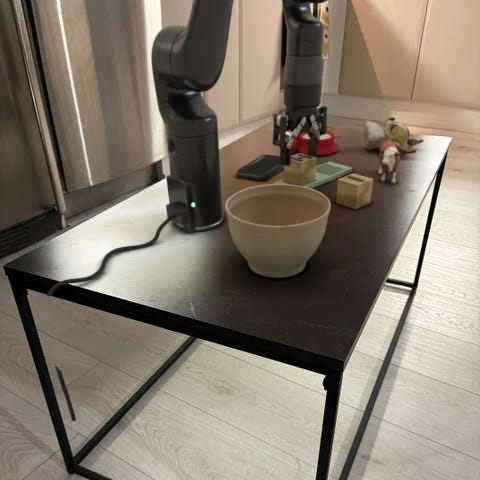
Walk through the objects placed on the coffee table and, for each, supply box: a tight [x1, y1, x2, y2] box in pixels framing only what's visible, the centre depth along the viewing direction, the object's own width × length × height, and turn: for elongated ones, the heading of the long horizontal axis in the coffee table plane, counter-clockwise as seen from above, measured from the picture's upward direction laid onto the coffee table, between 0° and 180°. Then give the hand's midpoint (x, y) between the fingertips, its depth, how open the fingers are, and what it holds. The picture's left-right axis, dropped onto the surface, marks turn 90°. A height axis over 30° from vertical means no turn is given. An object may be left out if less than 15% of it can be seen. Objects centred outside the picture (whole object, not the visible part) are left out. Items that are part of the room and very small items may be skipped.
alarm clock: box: [286, 130, 343, 156], centre depth 133 cm, size 10×6×15 cm
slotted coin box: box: [335, 172, 374, 210], centre depth 103 cm, size 5×5×5 cm
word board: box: [271, 161, 354, 189], centre depth 116 cm, size 20×7×1 cm, turn 133°
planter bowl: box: [224, 183, 332, 279], centre depth 80 cm, size 16×16×11 cm
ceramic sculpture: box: [363, 117, 424, 156], centre depth 129 cm, size 11×9×15 cm
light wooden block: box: [283, 152, 317, 186], centre depth 111 cm, size 5×5×5 cm
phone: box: [236, 153, 284, 182], centre depth 122 cm, size 8×1×15 cm
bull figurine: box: [377, 140, 401, 184], centre depth 113 cm, size 4×13×8 cm, turn 166°
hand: (298, 160), depth 110 cm, fingers open, 8 cm apart
